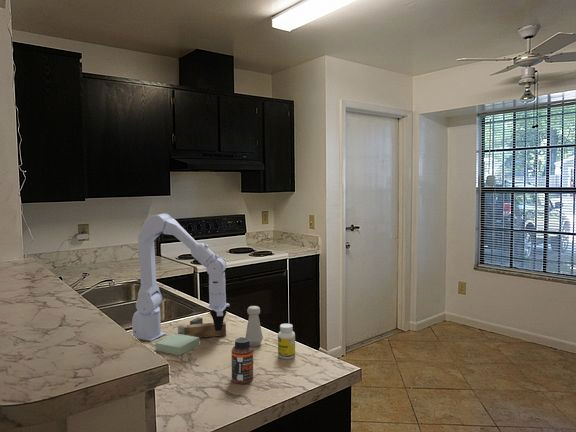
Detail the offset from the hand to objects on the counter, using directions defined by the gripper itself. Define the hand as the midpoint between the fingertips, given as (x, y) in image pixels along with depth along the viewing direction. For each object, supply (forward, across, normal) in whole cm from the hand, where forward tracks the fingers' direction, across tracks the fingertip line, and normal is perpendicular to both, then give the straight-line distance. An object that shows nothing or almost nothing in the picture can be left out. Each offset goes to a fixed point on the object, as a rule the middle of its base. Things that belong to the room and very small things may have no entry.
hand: (218, 330), depth 153 cm
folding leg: (+2, +2, +6) cm, 6 cm away
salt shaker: (+3, -10, -11) cm, 15 cm away
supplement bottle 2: (+3, -23, -19) cm, 30 cm away
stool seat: (+2, -6, +14) cm, 15 cm away
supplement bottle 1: (+3, -35, -3) cm, 36 cm away
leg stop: (+2, +13, +7) cm, 15 cm away
